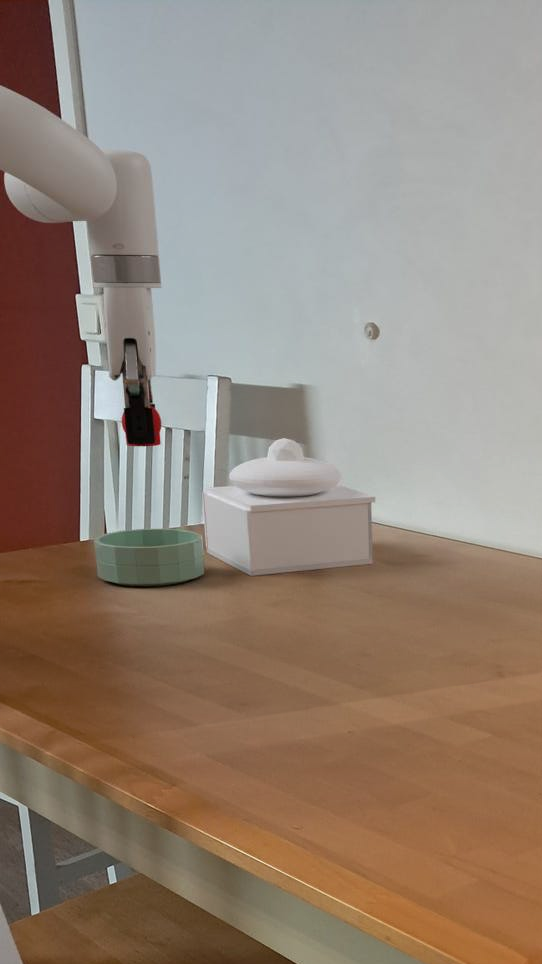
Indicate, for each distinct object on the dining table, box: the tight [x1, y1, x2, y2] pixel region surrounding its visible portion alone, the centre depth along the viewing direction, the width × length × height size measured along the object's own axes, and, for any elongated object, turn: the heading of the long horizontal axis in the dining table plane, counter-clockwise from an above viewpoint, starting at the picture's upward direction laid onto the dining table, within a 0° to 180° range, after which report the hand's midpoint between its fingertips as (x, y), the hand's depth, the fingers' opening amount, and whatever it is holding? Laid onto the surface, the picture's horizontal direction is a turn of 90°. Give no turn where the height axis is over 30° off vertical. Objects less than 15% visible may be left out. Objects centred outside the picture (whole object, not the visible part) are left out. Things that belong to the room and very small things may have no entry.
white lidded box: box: [201, 437, 376, 577], centre depth 172 cm, size 18×18×16 cm
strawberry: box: [121, 400, 162, 447], centre depth 152 cm, size 5×5×5 cm
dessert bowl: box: [93, 528, 206, 587], centre depth 162 cm, size 13×13×5 cm
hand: (142, 439), depth 153 cm, fingers closed on strawberry, 4 cm apart
